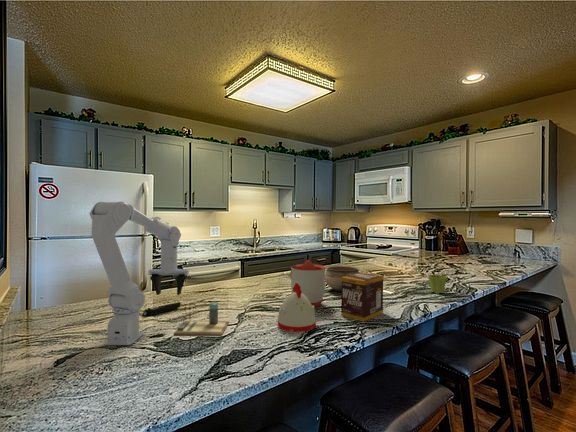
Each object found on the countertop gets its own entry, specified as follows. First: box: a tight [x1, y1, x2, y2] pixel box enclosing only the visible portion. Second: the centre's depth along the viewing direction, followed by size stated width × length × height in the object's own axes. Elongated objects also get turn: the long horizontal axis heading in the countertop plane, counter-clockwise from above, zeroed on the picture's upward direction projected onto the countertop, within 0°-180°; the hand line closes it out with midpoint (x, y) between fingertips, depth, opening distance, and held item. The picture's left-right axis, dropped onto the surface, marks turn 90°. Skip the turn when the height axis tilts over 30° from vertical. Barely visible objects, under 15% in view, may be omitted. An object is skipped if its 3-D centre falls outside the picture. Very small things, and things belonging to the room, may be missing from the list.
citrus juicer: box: [287, 259, 326, 308], centre depth 139 cm, size 16×17×20 cm
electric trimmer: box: [142, 301, 181, 318], centre depth 127 cm, size 4×15×3 cm, turn 138°
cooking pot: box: [325, 264, 360, 293], centre depth 164 cm, size 25×19×12 cm
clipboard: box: [173, 320, 230, 337], centre depth 108 cm, size 12×16×1 cm
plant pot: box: [427, 274, 448, 294], centre depth 162 cm, size 9×9×9 cm
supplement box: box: [340, 272, 384, 322], centre depth 125 cm, size 10×15×16 cm
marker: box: [208, 302, 219, 325], centre depth 111 cm, size 3×3×7 cm
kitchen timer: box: [277, 283, 317, 332], centre depth 113 cm, size 14×14×15 cm
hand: (168, 294), depth 116 cm, fingers open, 7 cm apart
